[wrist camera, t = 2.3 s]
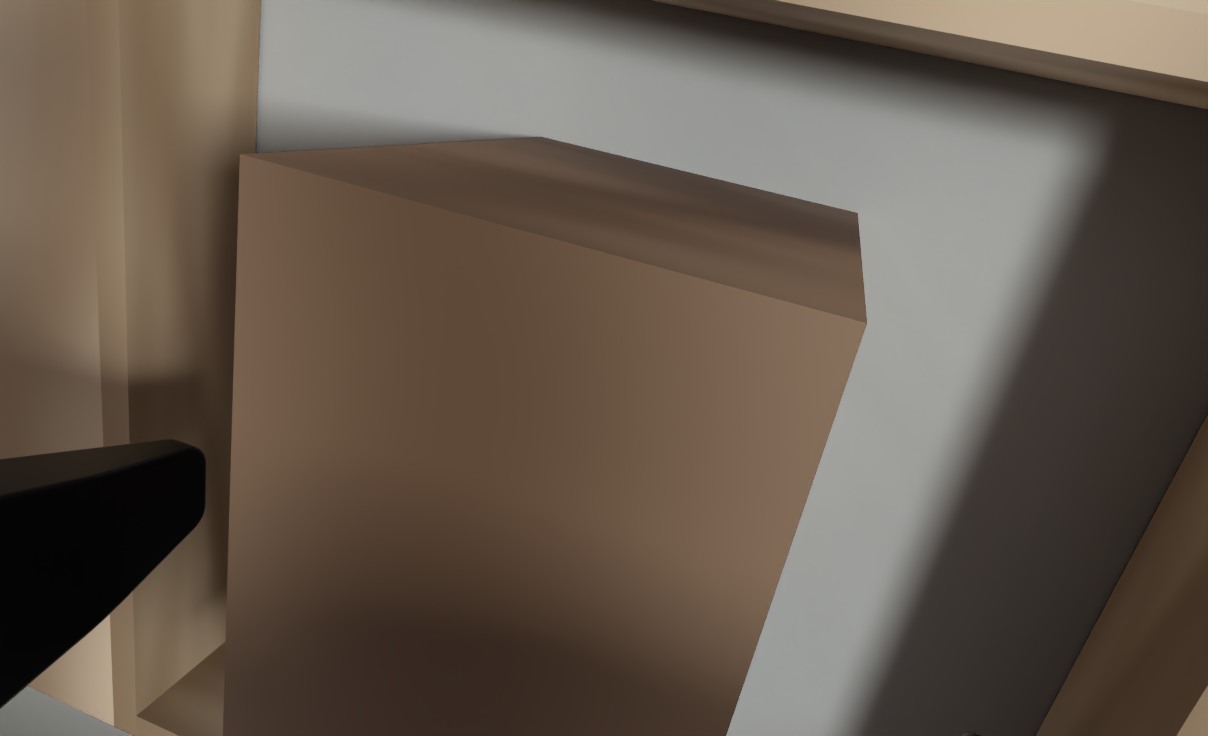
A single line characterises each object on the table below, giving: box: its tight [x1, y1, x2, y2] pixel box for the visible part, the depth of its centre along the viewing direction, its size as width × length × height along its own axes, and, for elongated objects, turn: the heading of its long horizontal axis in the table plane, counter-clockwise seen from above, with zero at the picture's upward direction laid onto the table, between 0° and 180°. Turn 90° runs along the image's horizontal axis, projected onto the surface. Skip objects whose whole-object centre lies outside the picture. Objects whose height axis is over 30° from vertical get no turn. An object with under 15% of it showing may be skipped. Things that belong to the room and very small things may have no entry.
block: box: [223, 137, 867, 736], centre depth 9 cm, size 4×9×6 cm, turn 169°
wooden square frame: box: [0, 0, 1208, 736], centre depth 11 cm, size 20×19×2 cm
